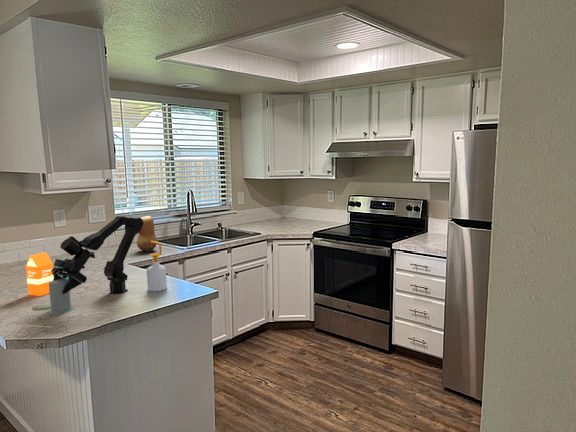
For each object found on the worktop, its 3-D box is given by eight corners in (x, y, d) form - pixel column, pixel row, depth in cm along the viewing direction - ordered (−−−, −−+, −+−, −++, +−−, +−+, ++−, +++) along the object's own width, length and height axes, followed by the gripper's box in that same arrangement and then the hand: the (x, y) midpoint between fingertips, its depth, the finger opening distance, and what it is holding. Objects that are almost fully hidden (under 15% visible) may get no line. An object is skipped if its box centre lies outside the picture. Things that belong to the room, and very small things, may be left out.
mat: (62, 303, 196) (62, 303, 196) (46, 311, 187) (46, 310, 187) (43, 303, 198) (43, 302, 198) (26, 310, 188) (26, 310, 188)
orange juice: (28, 295, 211) (24, 255, 208) (44, 289, 219) (40, 251, 216) (40, 296, 208) (35, 256, 205) (55, 291, 216) (51, 252, 213)
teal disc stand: (79, 307, 192) (78, 299, 191) (63, 315, 182) (63, 307, 181) (59, 306, 193) (58, 298, 193) (42, 314, 184) (41, 306, 183)
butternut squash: (133, 252, 303) (130, 216, 300) (149, 248, 314) (147, 214, 311) (146, 254, 296) (143, 218, 292) (161, 250, 306) (159, 215, 303)
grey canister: (73, 305, 192) (71, 278, 190) (67, 311, 184) (64, 283, 183) (55, 307, 191) (52, 279, 189) (48, 313, 183) (45, 284, 182)
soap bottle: (147, 288, 218) (143, 240, 214) (165, 285, 221) (162, 238, 218) (148, 292, 210) (145, 243, 206) (168, 290, 213) (165, 241, 210)
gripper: (53, 249, 193) (30, 279, 185) (77, 253, 183) (54, 285, 175) (72, 262, 200) (50, 292, 193) (96, 267, 190) (74, 298, 183)
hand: (56, 291), depth 186 cm, fingers open, 9 cm apart
